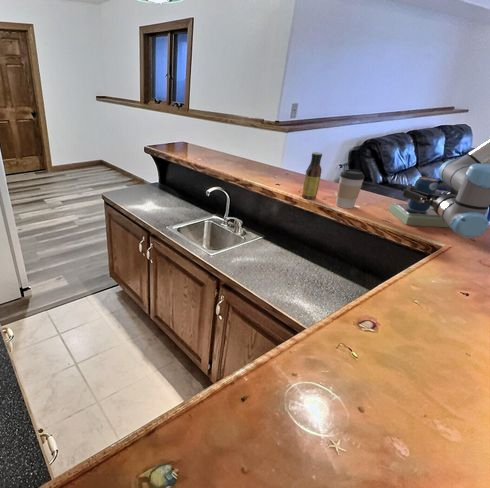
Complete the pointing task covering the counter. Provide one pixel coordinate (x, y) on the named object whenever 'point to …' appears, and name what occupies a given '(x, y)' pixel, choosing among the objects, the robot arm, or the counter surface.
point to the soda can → (425, 186)
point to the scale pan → (408, 211)
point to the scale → (417, 218)
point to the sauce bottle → (312, 177)
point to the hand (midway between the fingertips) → (429, 189)
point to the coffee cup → (349, 188)
